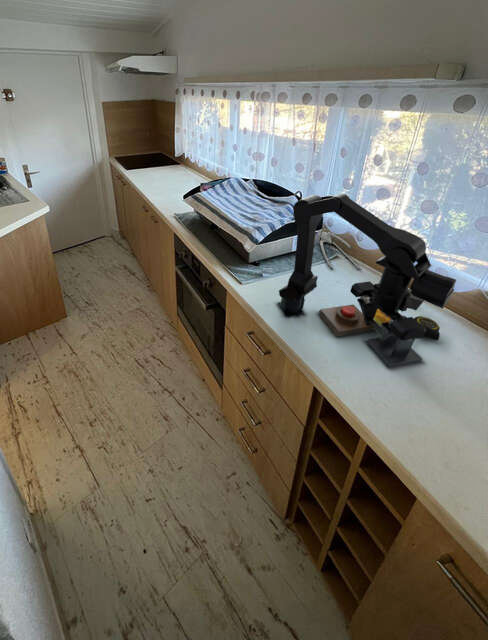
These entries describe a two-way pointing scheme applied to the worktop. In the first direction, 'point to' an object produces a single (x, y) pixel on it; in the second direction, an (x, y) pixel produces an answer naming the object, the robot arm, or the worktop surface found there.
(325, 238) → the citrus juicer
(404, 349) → the bracket
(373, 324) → the lever
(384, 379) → the worktop surface
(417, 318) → the tape measure
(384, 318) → the yellow donut
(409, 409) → the worktop surface
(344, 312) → the button
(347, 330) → the button block
